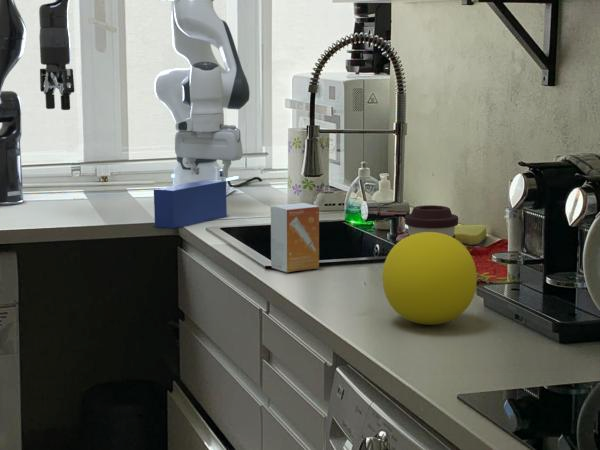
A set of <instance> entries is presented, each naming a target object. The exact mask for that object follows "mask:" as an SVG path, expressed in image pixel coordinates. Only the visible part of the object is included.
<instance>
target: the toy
mask: <svg viewBox="0 0 600 450" xmlns="http://www.w3.org/2000/svg"><path fill="white" fill-rule="evenodd" d="M407 236H408V235H407ZM407 236H406V237H404V238H403V239H401V240H399V241H398V242H397V243H396V244H395V245H394V246H393V247H392V248H391V249H390V250H389V252H388V254H387V255H386V258H385V260H384V263H383V268H382V276H381V277H382V287H383V291H384V295H385V297H386V300H387V302H388V303H389V305H390V306H391V308H392V309H393V310H394V311H395V312H396V313H397V314H398V315H399V316H401V317H402V318H404V319H405V320H407V321H410V322H413V323H415V324H419V325H420V324H421V325H427V326H428V325H429V326H431V325H432V326H433V325H440V324H445V323H449V322H450V321H452V320H454V319H456V318H457V317H459V316H461V315H462V314H463V313H464V312H465V311H466V310H467V309H468V307H469V306H470V305H471V303H472V301H473V299H474V296H475V293H476V290H477V284H478V275H477V268H476V263H475V261H474V258H473V257H472V255H471V253H470V251H469V250H468V248H467V247H466V246H465V245H464V244H463V243H462V242H461V241H460V240H458V239H456V237H455V238H453V237H451V236H448V235H445V234H442V233H437V232H422V233H417V234H413V235H410V236H408V237H407Z"/></svg>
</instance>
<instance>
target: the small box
mask: <svg viewBox="0 0 600 450" xmlns="http://www.w3.org/2000/svg"><path fill="white" fill-rule="evenodd" d="M270 267H271V268H272V269H275V270H277V271H281V272H284V273H291V272H296V271H297V272H298V271H299V272H300V271H308V270H315V269H316V270H317V269H319V268H320V206H319V205H315V204H311V203H306V202H298V203H285V204H280V205H271V206H270Z"/></svg>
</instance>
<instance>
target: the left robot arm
mask: <svg viewBox="0 0 600 450" xmlns="http://www.w3.org/2000/svg"><path fill="white" fill-rule="evenodd" d="M69 3H70V0H55V1H53V2H49V3H44V4H41V5H40V6H39V8H38V9H39V10H38V16H39V18H38V19H39V36H38V37H39V38H38V39H39V55H40V57H39V59H40V64H41V65H42V66H43V65H45V68H40V69H39V87H40V92H43V94H44V96H45V109H47V110H52V109H53V110H54V109H55V108H56V101H55V100H56V99H55V91H56V89H58V92H59V94H60V109H61V111H70V110H71V97H70V96H71V95H72V93H75V81H74V80H75V79H74V70H73V68H67V66H66V65H70V64H71V62H72V61H71V59H72V58H71V39H70V37H71V36H70V32H69V18H68V17H69V16H68V15H69V14H68V13H69V12H68V10H69ZM26 39H27V27H26V24H25V22H24V20H23V17H22V15H21V13H20V11H19V9H18V7H17V4H16V2H15V0H0V124H1V127H0V206H11V205H21V204H23V203H24V202H25V201H24V187H23V170H22V169H23V168H22V167H23V166H22V151H21V138H22V103H21V102H22V101H21V99H20V97H19V95H18V93H17V92H16V91H13V90H3V87H4V83H5V81H6V78H8V75H9V74H10V73H11V71H12V70H13V69H14V67H15V66H16V65H17V64H18V62H19V61H20V59H21V58H22V56H23V54H24V50H25V45H26Z"/></svg>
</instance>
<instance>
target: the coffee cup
mask: <svg viewBox="0 0 600 450" xmlns="http://www.w3.org/2000/svg"><path fill="white" fill-rule="evenodd" d="M404 225H406V226H407V227H408V228H407V230H408V233H407V236H406V237H408V236H410V235H413V234H417V233H422V232H437V233H442V234H445V235H448V236H451V237H453V238H455V239H456V235H455V229H456V228H455V227H456V226H458V225H459V216H458V215H456V214H453V213H452V211H451V208H450V207H448V206H444V205H437V204H436V205H434V204H433V205H431V204H429V205H426V204H425V205H418V206H414V207H413V208H412V210H411V213H408V214H406V215H405V216H404Z"/></svg>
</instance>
